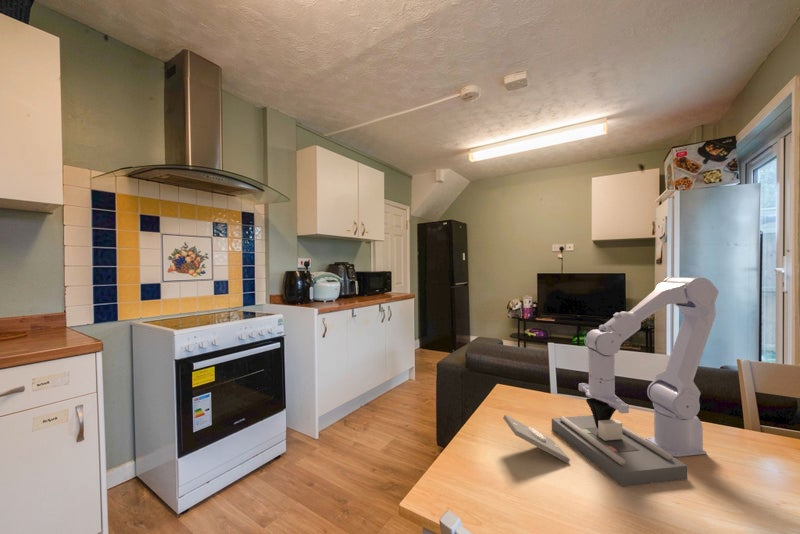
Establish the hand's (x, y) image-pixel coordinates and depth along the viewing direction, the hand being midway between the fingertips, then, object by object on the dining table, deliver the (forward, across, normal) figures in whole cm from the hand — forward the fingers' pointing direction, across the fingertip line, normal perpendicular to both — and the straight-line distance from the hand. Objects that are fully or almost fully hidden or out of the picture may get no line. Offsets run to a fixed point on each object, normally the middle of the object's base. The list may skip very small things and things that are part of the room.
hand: (601, 428), depth 82 cm
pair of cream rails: (+1, +2, 0) cm, 3 cm away
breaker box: (+4, +3, 0) cm, 5 cm away
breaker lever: (+1, +3, 0) cm, 3 cm away
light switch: (+4, +1, -20) cm, 20 cm away
